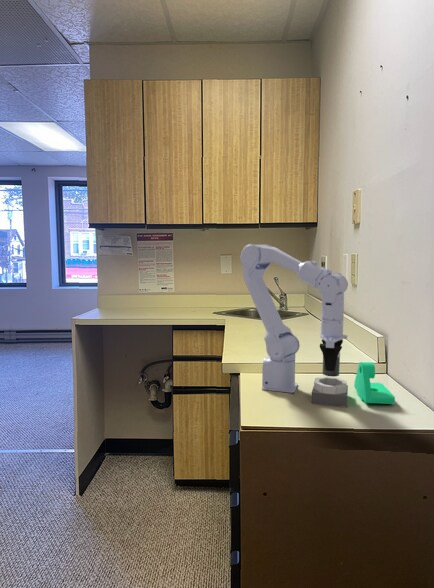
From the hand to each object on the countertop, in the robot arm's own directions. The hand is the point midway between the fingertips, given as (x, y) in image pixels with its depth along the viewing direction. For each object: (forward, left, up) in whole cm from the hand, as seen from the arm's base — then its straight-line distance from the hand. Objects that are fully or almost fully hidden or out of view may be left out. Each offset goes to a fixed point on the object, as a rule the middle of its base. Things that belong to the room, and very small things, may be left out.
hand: (330, 367), depth 107 cm
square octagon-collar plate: (0, 0, -9) cm, 9 cm away
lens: (0, 0, -2) cm, 2 cm away
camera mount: (+11, +5, -9) cm, 15 cm away
